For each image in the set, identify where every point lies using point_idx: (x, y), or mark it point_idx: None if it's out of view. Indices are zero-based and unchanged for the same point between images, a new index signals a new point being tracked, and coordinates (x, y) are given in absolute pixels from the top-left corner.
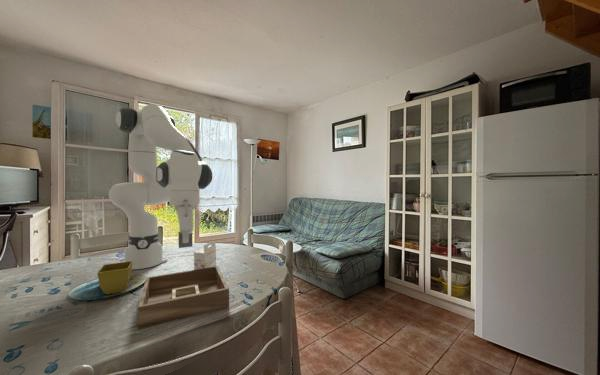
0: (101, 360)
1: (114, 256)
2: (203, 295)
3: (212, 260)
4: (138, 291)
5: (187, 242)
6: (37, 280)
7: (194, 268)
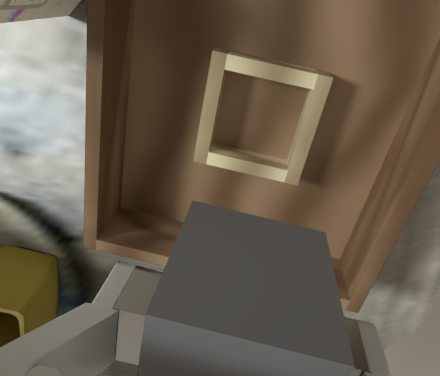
0: (416, 329)
1: None
2: None
3: None
4: (75, 223)
5: (368, 329)
6: None
7: (28, 19)
